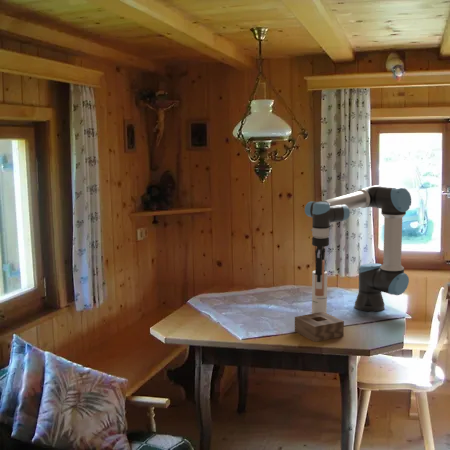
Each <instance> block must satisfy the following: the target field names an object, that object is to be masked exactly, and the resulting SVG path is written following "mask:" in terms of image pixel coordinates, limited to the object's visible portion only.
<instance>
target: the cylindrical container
mask: <svg viewBox="0 0 450 450" xmlns="http://www.w3.org/2000/svg"><path fill="white" fill-rule="evenodd" d="M311 272H312V273H311V275H312V277H311V278H312V279H311V281H312V283H311V314H314V313H320V312H324V313H327V314H328V312H327V311H328V309H327V307H328V271H327V270H325V272H324V296H316V295H315V275H314V273H315V270H313V271H311Z"/></svg>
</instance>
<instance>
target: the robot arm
mask: <svg viewBox="0 0 450 450" xmlns="http://www.w3.org/2000/svg"><path fill="white" fill-rule="evenodd" d="M411 196H412V195H411V193H410V192H409V191H408V189H406V188H405V187H400V186H396V185H384V184H378V185H377V184H376V185H372V186H367V187H364V188H360V189H358V190H357V191H356V192H351V193H348V194H345V195H341V196H337V197H333V198H329V199H325V200H319V201H309V202H307V203H306V204H305V207H304V213H305V215H306V216H307V217H309V218H312V229H310V231H311V233H312V238H311V245H312V246H313V247H316V249H315V251H314V252H315V269H316V272H315V273H314V275H316V289H322V260H324V261H325V257H326V256H325V255H326V248H325V247H328V246H329V245H330V237H329V236H330V224H331V223H337V222H338V223H339V222H343V221H344V222H345V221H346V220H347V221H348V219H349V218H350V214H351V210H354V209H359V208H362V209H365V208H374V209H375V208H376V209H381V215H382V216H383V218H384V221H383V229H384V230H383V261H382V263H383V264H381V263H377V262H376V263H365V264H361V265H360V266H359V270H358V293H357V295H356V299H355V301H354V308H355V309H357V310H360V311H363V312H379V311H383V310H384V309H385V302H384V298H383V295H382V294H383V293H385V294H389V295H391V296H393V295H394V296H400V295H402V294H404V293H405V292H406V290H407V288H408V286H409V283H410V280H409V279H410V278H409V276H408V274H407V273H405V267H404V266H403V265H402V247H403V246H402V245H403V244H402V240H403V218H404V216H406V212H408V211H409V209H410V207H411V205H412V197H411ZM325 271H326V269H324V272H325Z"/></svg>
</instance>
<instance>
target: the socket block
mask: <svg viewBox="0 0 450 450" xmlns="http://www.w3.org/2000/svg"><path fill="white" fill-rule="evenodd" d="M344 328H345V321H344V320H342V319H340V318H337V317H335V316H333V315H332V314H328V312H327V313H324V312H320V313H314V314H312V313H309V314H304V315H297V316H294V332H295V333H297V334H299V335H300V336H303V337H305V338H307V339H308V340H310V341H312V342H320V341H324V340H325V341H326V340H330V339H335V338H339V337H344Z"/></svg>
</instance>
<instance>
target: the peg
mask: <svg viewBox="0 0 450 450" xmlns="http://www.w3.org/2000/svg"><path fill="white" fill-rule="evenodd" d="M325 264H326V263H325V259H324V260H322V289H316V275H315V295H316V296H324V270H325ZM314 271H315V272H316V268H315V270H314Z"/></svg>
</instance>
